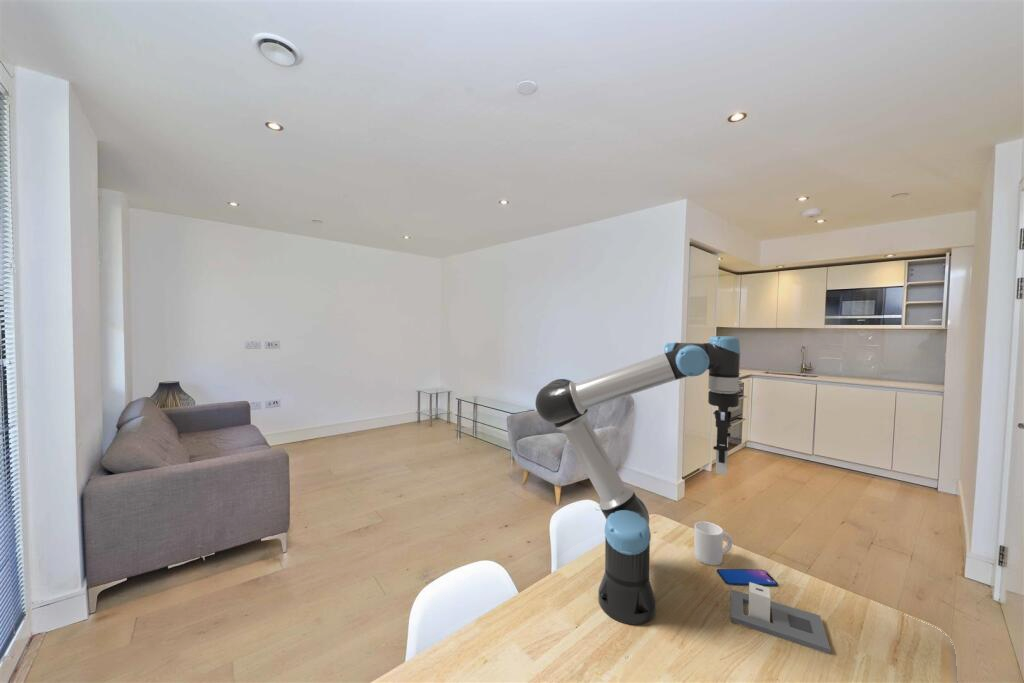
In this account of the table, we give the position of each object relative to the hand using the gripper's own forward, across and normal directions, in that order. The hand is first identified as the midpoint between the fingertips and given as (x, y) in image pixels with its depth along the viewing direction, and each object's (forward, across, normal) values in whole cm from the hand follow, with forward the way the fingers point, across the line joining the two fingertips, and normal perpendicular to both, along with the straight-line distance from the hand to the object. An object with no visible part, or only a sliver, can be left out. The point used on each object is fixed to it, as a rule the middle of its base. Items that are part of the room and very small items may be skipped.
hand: (721, 465), depth 108 cm
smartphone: (+37, +11, -7) cm, 40 cm away
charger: (+37, -5, -9) cm, 38 cm away
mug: (+37, +17, +2) cm, 41 cm away
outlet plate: (+37, -5, -13) cm, 39 cm away
